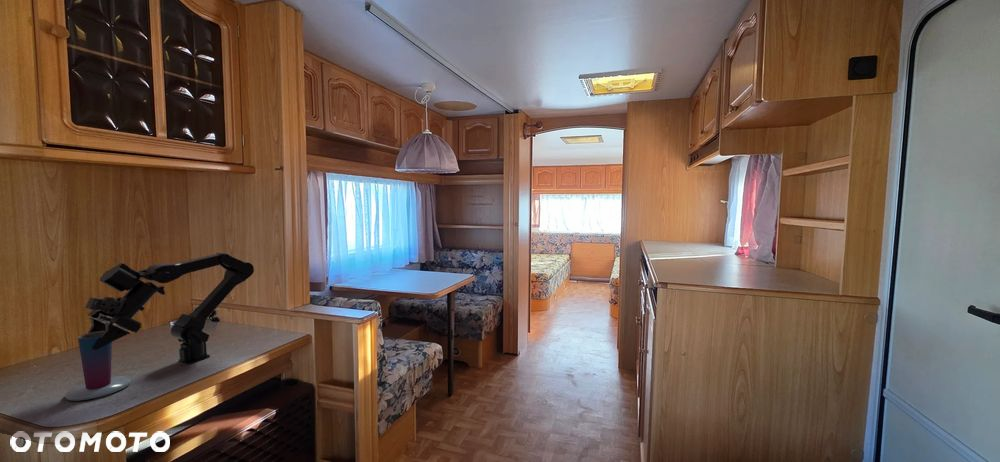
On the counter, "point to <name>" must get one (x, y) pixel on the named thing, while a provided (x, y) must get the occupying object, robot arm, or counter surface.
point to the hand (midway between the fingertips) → (88, 347)
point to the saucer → (98, 389)
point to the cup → (95, 361)
